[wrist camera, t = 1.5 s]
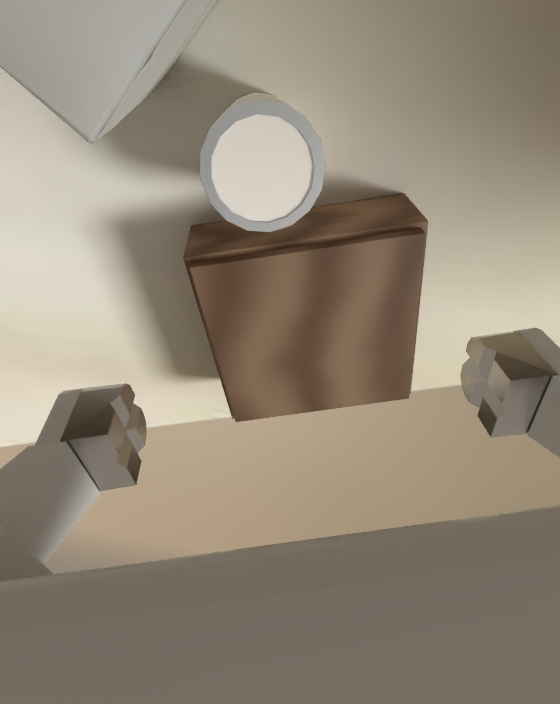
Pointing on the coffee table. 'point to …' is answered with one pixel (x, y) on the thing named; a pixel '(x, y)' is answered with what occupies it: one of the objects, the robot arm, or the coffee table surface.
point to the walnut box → (312, 306)
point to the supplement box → (95, 53)
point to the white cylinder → (262, 164)
